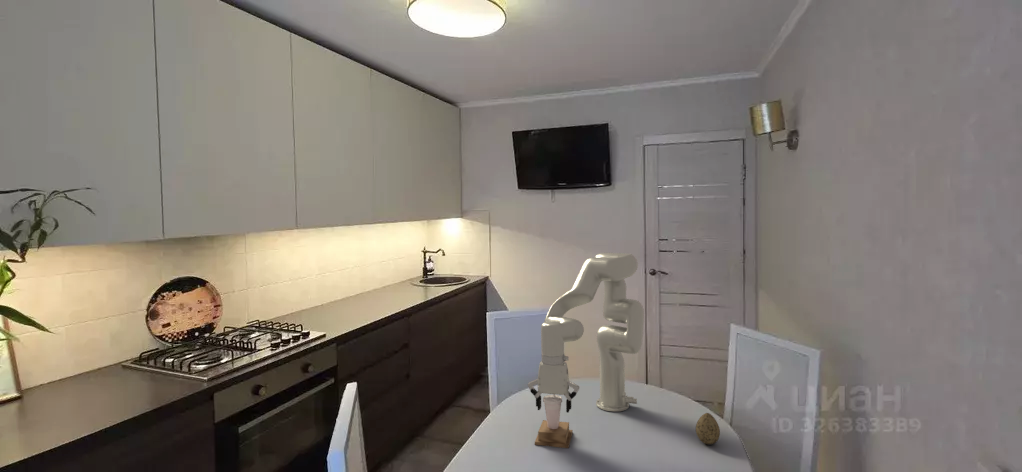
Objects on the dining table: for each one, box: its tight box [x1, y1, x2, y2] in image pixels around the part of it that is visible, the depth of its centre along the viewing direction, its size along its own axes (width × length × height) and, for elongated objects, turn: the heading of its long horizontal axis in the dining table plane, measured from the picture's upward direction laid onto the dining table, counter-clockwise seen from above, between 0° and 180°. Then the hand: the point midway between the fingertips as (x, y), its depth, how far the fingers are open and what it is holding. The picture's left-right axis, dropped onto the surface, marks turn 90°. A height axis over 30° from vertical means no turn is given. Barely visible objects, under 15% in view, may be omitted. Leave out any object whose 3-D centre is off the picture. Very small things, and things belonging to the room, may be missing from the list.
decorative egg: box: [695, 412, 721, 446], centre depth 149 cm, size 7×7×10 cm
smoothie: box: [542, 394, 563, 429], centre depth 154 cm, size 6×6×14 cm
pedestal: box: [534, 419, 573, 449], centre depth 155 cm, size 11×11×4 cm
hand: (553, 409), depth 154 cm, fingers open, 9 cm apart
